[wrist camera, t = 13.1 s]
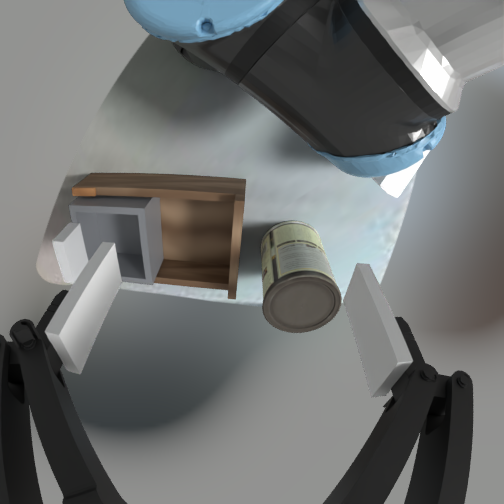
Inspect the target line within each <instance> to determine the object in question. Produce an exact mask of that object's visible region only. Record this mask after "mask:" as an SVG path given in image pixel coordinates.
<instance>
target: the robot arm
mask: <svg viewBox="0 0 504 504" xmlns="http://www.w3.org/2000/svg"><path fill="white" fill-rule="evenodd" d="M124 2H125V5H126V8H127V9H128V11H129V13H130V14H131V16H132V17H133V18H134V19H135V20H136V21H137V22H138V23H139V24H140V25H141V26H142V28H144V29H145V30H146V31H147V32H148V33H150V34H151V35H153V36H155V37H157V38H160V39H163V40H170V41H172V43H173V45H174V47H175V48H176V49H177V51H178V52H179V53H180V54H181V55H182V56H183V57H184V58H185V59H186V60H188V61H189V62H191V63H192V64H194V65H196V66H199V67H201V68H204V69H207V70H212V71H218V72H221V73H222V74H224V75H225V76H227V77H228V78H229V79H231V80H232V81H233V82H235V83H236V84H238V86H239V87H241V88H242V89H243V90H245V91H246V92H247V93H249V94H250V95H251V96H252V97H254V98H255V99H256V100H258V101H259V102H260V103H261V104H263V105H264V106H265V107H266V108H267V109H269V110H270V111H271V112H272V113H274V114H275V115H276V116H277V117H278V118H280V119H281V120H282V121H283V122H284V123H286V124H287V125H288V126H289V127H290V128H291V129H292V130H294V131H295V132H296V133H297V134H298V135H299V136H300V137H302V138H303V139H304V140H305V141H306V142H307V144H308V145H309V146H310V147H311V148H312V149H313V150H315V151H316V152H317V153H318V154H320V155H322V156H324V157H326V158H327V159H328V160H329V161H330V162H332V163H333V164H334V165H335V166H336V167H337V168H339V169H340V170H341V171H343V172H345V173H347V174H350V175H353V176H357V177H367V178H371V177H380V176H386V175H389V174H393V173H396V172H399V171H401V170H404V169H406V168H408V167H410V166H412V165H413V164H415V163H417V162H418V161H420V160H421V159H422V158H423V152H424V151H426V150H433V149H434V147H435V146H436V145H437V144H438V143H439V141H440V140H441V138H442V136H443V133H444V131H445V128H446V117H445V116H446V115H448V114H450V113H453V112H455V111H457V110H458V107H459V103H460V98H461V93H462V89H463V87H464V85H465V83H466V82H468V81H470V80H472V79H474V78H477V77H479V76H481V75H483V74H486V73H488V72H490V71H492V70H495V69H497V68H499V67H502V66H504V0H124ZM121 284H122V279H121V274H120V269H119V264H118V259H117V253H116V248H115V243H110V242H102V243H101V245H100V246H99V248H98V249H97V250H96V252H95V253H94V255H93V256H92V257H91V259H90V260H89V262H88V263H87V265H86V266H85V267H84V269H83V270H82V272H81V273H80V275H79V276H78V278H77V279H76V281H75V282H74V284H73V285H72V287H71V289H70V290H69V291H67V290H62V291H61V292H60V293H59V294H58V295H56V296H55V298H54V299H53V301H52V302H51V305H50V306H49V307H48V309H47V311H46V312H45V313H44V315H43V317H42V318H41V320H40V322H39V323H38V325H37V327H36V328H35V326H34V324H33V322H32V321H30V320H27V319H23V320H20V321H18V322H16V323H15V324H14V325H13V326H12V328H11V330H10V337H11V338H12V340H13V342H7V341H6V340H5V338H4V336H2V335H0V504H43V502H42V497H41V493H40V488H39V484H38V478H37V473H36V467H35V461H34V454H33V446H32V437H31V426H30V410H29V405H30V408H31V412H32V416H33V419H34V422H35V425H36V428H37V432H38V435H39V437H40V440H41V443H42V446H43V448H44V451H45V454H46V456H47V459H48V461H49V464H50V466H51V469H52V471H53V473H54V476H55V478H56V480H57V482H58V485H59V487H60V489H61V491H62V493H63V496H64V499H63V504H127V503H126V502H125V501H124V500H123V499H122V498H121V496H120V495H119V493H118V492H117V490H116V488H115V487H114V485H113V483H112V482H111V480H110V478H109V477H108V475H107V473H106V471H105V470H104V468H103V466H102V465H101V462H100V460H99V458H98V457H97V455H96V453H95V451H94V449H93V447H92V445H91V443H90V441H89V439H88V437H87V434H86V432H85V430H84V428H83V426H82V423H81V421H80V419H79V416H78V414H77V412H76V409H75V407H74V404H73V402H72V399H71V396H70V394H69V391H68V388H67V386H66V383H65V380H64V377H63V374H62V372H61V370H60V368H61V366H62V364H63V365H64V366H65V368H66V369H67V371H70V372H74V373H78V374H81V372H82V369H83V367H84V365H85V362H86V360H87V357H88V355H89V352H90V350H91V348H92V346H93V343H94V341H95V339H96V336H97V334H98V332H99V330H100V327H101V325H102V323H103V321H104V319H105V317H106V315H107V313H108V310H109V308H110V306H111V304H112V302H113V300H114V298H115V296H116V294H117V292H118V290H119V288H120V286H121ZM343 302H344V305H345V308H346V311H347V314H348V317H349V321H350V324H351V327H352V330H353V334H354V337H355V340H356V344H357V347H358V350H359V354H360V357H361V361H362V364H363V368H364V372H365V375H366V379H367V382H368V387H369V390H370V394H371V397H378V396H386V394H387V393H388V392H389V391H390V390H392V393H393V396H392V397H391V399H389V401H388V402H387V403H386V404H385V405H384V406H383V407H386V408H385V410H384V412H383V413H382V416H381V417H380V419H379V421H378V422H377V424H376V426H375V428H374V429H373V431H372V433H371V435H370V436H369V438H368V440H367V441H366V443H365V445H364V446H363V448H362V449H361V451H360V453H359V454H358V456H357V457H356V459H355V460H354V462H353V463H352V465H351V466H350V468H349V469H348V471H347V472H346V473H345V475H344V476H343V478H342V479H341V480H340V482H339V483H338V485H337V486H336V487H335V489H334V490H333V491H332V493H331V494H330V495H329V496H328V498H327V499H326V500H325V502H324V503H323V504H384V502H385V500H386V499H387V497H388V495H389V494H390V492H391V490H392V488H393V487H394V485H395V483H396V481H397V479H398V477H399V476H400V474H401V472H402V470H403V468H404V466H405V464H406V462H407V460H408V458H409V456H410V454H411V451H412V449H413V447H414V445H415V443H416V440H417V438H418V436H419V433H420V438H419V443H418V449H417V454H416V459H415V463H414V468H413V472H412V476H411V481H410V485H409V488H408V492H407V496H406V499H405V503H404V504H464V502H465V497H466V491H467V485H468V478H469V471H470V461H471V451H472V436H473V384H472V380H471V378H470V376H469V375H468V374H467V373H465V372H463V371H456V372H455V373H454V374H453V375H452V376H451V377H450V376H444V375H440V374H438V372H437V371H436V370H435V368H434V367H432V366H431V365H429V364H426V363H425V361H424V359H423V357H422V354H421V352H420V350H419V347H418V345H417V343H416V341H415V339H414V336H413V334H412V332H411V329H410V327H409V325H408V324H407V323H406V321H404V320H403V318H402V317H394V315H393V313H392V310H391V308H390V306H389V304H388V302H387V300H386V297H385V295H384V293H383V291H382V289H381V287H380V285H379V283H378V281H377V279H376V277H375V275H374V273H373V271H372V269H371V267H370V265H369V264H360V263H357V264H356V267H355V270H354V273H353V276H352V278H351V281H350V284H349V286H348V289H347V292H346V294H345V297H344V300H343Z"/></svg>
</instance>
